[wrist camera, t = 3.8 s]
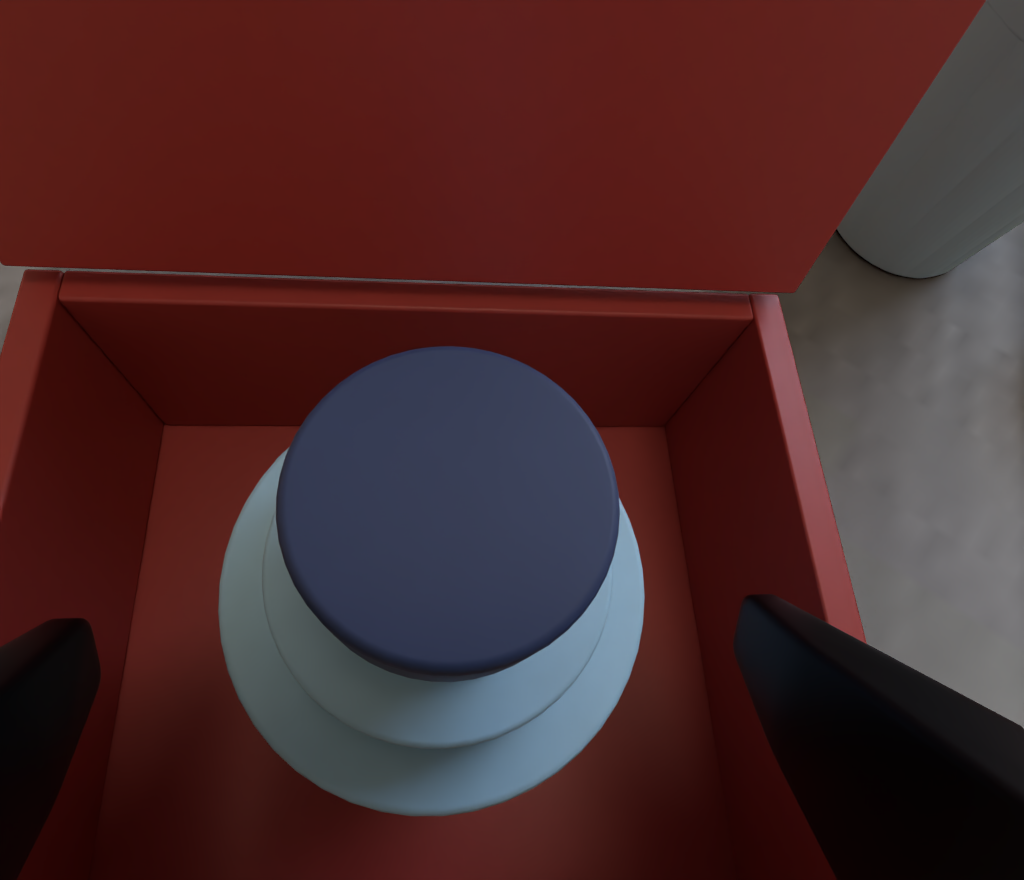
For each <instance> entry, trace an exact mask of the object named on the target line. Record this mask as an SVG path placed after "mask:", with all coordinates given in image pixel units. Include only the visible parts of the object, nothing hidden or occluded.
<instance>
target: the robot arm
mask: <svg viewBox="0 0 1024 880" xmlns="http://www.w3.org/2000/svg"><path fill="white" fill-rule="evenodd" d="M733 651H734V655H735V658H736V661H737V663H738V666H739V669H740V671H741V674H742V676H743V679H744V682H745V684H746V687H747V689H748V692H749V695H750V697H751V700H752V702H753V705H754V707H755V710H756V713H757V715H758V718H759V720H760V723H761V726H762V728H763V731H764V733H765V736H766V738H767V741H768V743H769V745H770V748H771V750H772V752H773V754H774V756H775V758H776V761H777V763H778V765H779V767H780V769H781V771H782V773H783V775H784V777H785V779H786V781H787V783H788V785H789V787H790V788H791V790H792V792H793V794H794V796H795V798H796V800H797V802H798V804H799V806H800V808H801V810H802V812H803V814H804V816H805V818H806V820H807V822H808V824H809V826H810V828H811V830H812V832H813V834H814V836H815V838H816V840H817V842H818V844H819V846H820V848H821V849H822V851H823V853H824V855H825V857H826V859H827V861H828V863H829V865H830V867H831V869H832V871H833V873H834V875H835V877H836V879H837V880H1024V729H1023V727H1022V726H1020V725H1018V724H1016V723H1014V722H1012V721H1011V720H1009V719H1007V718H1005V717H1003V716H1001V715H999V714H997V713H995V712H994V711H992V710H990V709H988V708H986V707H984V706H982V705H980V704H979V703H977V702H975V701H973V700H971V699H969V698H967V697H965V696H964V695H962V694H960V693H958V692H956V691H954V690H952V689H950V688H948V687H947V686H945V685H943V684H941V683H939V682H937V681H935V680H933V679H932V678H930V677H928V676H926V675H924V674H922V673H920V672H918V671H917V670H915V669H913V668H911V667H909V666H907V665H905V664H903V663H901V662H900V661H898V660H896V659H894V658H892V657H890V656H888V655H886V654H885V653H883V652H881V651H879V650H877V649H875V648H873V647H871V646H870V645H868V644H866V643H864V642H862V641H860V640H858V639H856V638H855V637H853V636H851V635H849V634H847V633H845V632H843V631H841V630H840V629H838V628H836V627H834V626H832V625H830V624H828V623H826V622H824V621H823V620H821V619H819V618H817V617H815V616H813V615H811V614H809V613H808V612H806V611H804V610H802V609H800V608H798V607H796V606H794V605H793V604H791V603H789V602H787V601H785V600H783V599H781V598H779V597H778V596H776V595H773V594H753V595H747V596H746V597H744V599H743V600H742V603H741V606H740V611H739V615H738V620H737V624H736V628H735V633H734V637H733ZM100 681H101V665H100V661H99V656H98V652H97V648H96V643H95V639H94V634H93V630H92V627H91V624H90V623H89V621H88V620H86V619H84V618H58V619H51V620H48V621H46V622H44V623H42V624H41V625H39V626H37V627H35V628H34V629H32V630H30V631H28V632H26V633H25V634H23V635H21V636H19V637H17V638H16V639H14V640H12V641H10V642H8V643H7V644H5V645H3V646H1V647H0V880H17V878H18V876H19V874H20V872H21V870H22V868H23V866H24V864H25V862H26V860H27V858H28V856H29V854H30V852H31V850H32V848H33V846H34V844H35V842H36V840H37V838H38V836H39V834H40V832H41V830H42V828H43V826H44V824H45V822H46V820H47V818H48V816H49V814H50V812H51V810H52V808H53V806H54V803H55V801H56V799H57V796H58V794H59V792H60V789H61V787H62V784H63V782H64V779H65V776H66V774H67V771H68V768H69V766H70V763H71V761H72V758H73V755H74V753H75V750H76V747H77V745H78V742H79V739H80V737H81V734H82V731H83V729H84V726H85V723H86V721H87V718H88V715H89V713H90V710H91V707H92V705H93V702H94V699H95V697H96V694H97V691H98V689H99V686H100Z"/></svg>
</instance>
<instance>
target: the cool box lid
mask: <svg viewBox="0 0 1024 880" xmlns="http://www.w3.org/2000/svg"><path fill="white" fill-rule="evenodd" d="M985 1H986V0H0V262H1V263H2V264H3V265H5V266H30V267H59V268H88V269H117V270H145V271H174V272H203V273H232V274H261V275H289V276H318V277H347V278H376V279H405V280H433V281H462V282H491V283H520V284H549V285H577V286H606V287H635V288H664V289H693V290H721V291H750V292H779V293H794V292H795V291H796V290H797V288H798V287H799V285H800V284H801V282H802V281H803V279H804V278H805V276H806V275H807V273H808V272H809V270H810V268H811V267H812V265H813V264H814V262H815V261H816V259H817V258H818V256H819V255H820V253H821V252H822V250H823V249H824V247H825V246H826V244H827V243H828V241H829V239H830V238H831V236H832V235H833V233H834V232H835V230H836V229H837V227H838V226H839V224H840V223H841V221H842V220H843V218H844V217H845V215H846V214H847V212H848V210H849V209H850V207H851V206H852V204H853V203H854V201H855V200H856V198H857V197H858V195H859V194H860V192H861V191H862V189H863V188H864V186H865V185H866V183H867V181H868V180H869V178H870V177H871V175H872V174H873V172H874V171H875V169H876V168H877V166H878V165H879V163H880V162H881V160H882V159H883V157H884V156H885V154H886V152H887V151H888V149H889V148H890V146H891V145H892V143H893V142H894V140H895V139H896V137H897V136H898V134H899V133H900V131H901V130H902V128H903V127H904V125H905V123H906V122H907V120H908V119H909V117H910V116H911V114H912V113H913V111H914V110H915V108H916V107H917V105H918V104H919V102H920V101H921V99H922V98H923V96H924V94H925V93H926V91H927V90H928V88H929V87H930V85H931V84H932V82H933V81H934V79H935V78H936V76H937V75H938V73H939V72H940V70H941V68H942V67H943V65H944V64H945V62H946V61H947V59H948V58H949V56H950V55H951V53H952V52H953V50H954V49H955V47H956V46H957V44H958V43H959V41H960V39H961V38H962V36H963V35H964V33H965V32H966V30H967V29H968V27H969V26H970V24H971V23H972V21H973V20H974V18H975V17H976V15H977V14H978V12H979V10H980V9H981V7H982V6H983V4H984V3H985Z"/></svg>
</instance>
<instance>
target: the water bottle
mask: <svg viewBox="0 0 1024 880" xmlns="http://www.w3.org/2000/svg"><path fill="white" fill-rule="evenodd" d="M644 598H645V596H644V581H643V569H642V564H641V559H640V554H639V549H638V544H637V541H636V538H635V535H634V532H633V529H632V526H631V523H630V520H629V518H628V515H627V513H626V511H625V509H624V507H623V505H622V503H621V500H620V498H619V492H618V487H617V481H616V476H615V472H614V469H613V466H612V463H611V460H610V457H609V454H608V451H607V449H606V447H605V445H604V443H603V441H602V439H601V436H600V434H599V433H598V431H597V429H596V428H595V426H594V425H593V423H592V422H591V420H590V418H589V417H588V416H587V414H586V413H585V412H584V411H583V410H582V408H581V407H580V406H579V405H578V403H577V402H576V401H575V400H574V399H573V398H572V397H571V396H570V395H569V394H568V393H567V392H566V391H564V390H563V389H562V388H561V387H560V386H559V385H557V384H556V383H555V382H553V381H552V380H551V379H549V378H548V377H547V376H545V375H544V374H542V373H540V372H539V371H537V370H535V369H533V368H532V367H530V366H528V365H526V364H524V363H522V362H519V361H517V360H515V359H512V358H510V357H507V356H504V355H501V354H497V353H494V352H491V351H486V350H481V349H476V348H469V347H456V346H439V347H426V348H420V349H413V350H408V351H405V352H401V353H397V354H394V355H390V356H388V357H385V358H383V359H380V360H378V361H375V362H373V363H371V364H369V365H367V366H365V367H363V368H362V369H360V370H358V371H356V372H354V373H353V374H351V375H350V376H349V377H347V378H346V379H344V380H343V381H342V382H340V383H339V384H337V385H336V386H335V387H334V388H333V389H332V390H331V391H330V392H329V393H328V394H327V395H325V396H324V397H323V398H322V399H321V400H320V402H319V403H318V404H317V405H316V406H315V408H314V409H313V410H312V411H311V412H310V413H309V415H308V416H307V417H306V419H305V420H304V422H303V423H302V425H301V427H300V428H299V430H298V431H297V433H296V434H295V436H294V438H293V441H292V443H291V445H290V447H289V448H288V449H287V450H285V451H284V452H283V453H282V454H281V455H280V456H279V457H278V458H277V459H276V461H275V462H274V463H273V464H272V465H271V467H270V468H269V469H268V470H267V471H266V473H265V474H264V475H263V476H262V477H261V479H260V480H259V482H258V483H257V485H256V486H255V488H254V490H253V491H252V493H251V494H250V496H249V497H248V499H247V500H246V502H245V504H244V506H243V508H242V510H241V513H240V515H239V517H238V519H237V521H236V523H235V525H234V527H233V531H232V534H231V537H230V540H229V543H228V546H227V549H226V552H225V556H224V561H223V567H222V572H221V577H220V583H219V604H218V616H219V627H220V638H221V644H222V649H223V653H224V657H225V661H226V666H227V670H228V673H229V675H230V678H231V680H232V683H233V686H234V688H235V691H236V693H237V696H238V698H239V700H240V702H241V704H242V705H243V707H244V709H245V711H246V712H247V714H248V716H249V718H250V719H251V721H252V723H253V725H254V726H255V727H256V729H257V730H258V731H259V732H260V734H261V735H262V736H263V738H264V739H265V740H266V741H267V743H268V744H269V745H270V746H271V748H272V749H273V750H274V751H275V752H276V753H277V754H278V755H279V756H280V757H281V758H282V759H284V760H285V761H286V762H287V763H288V764H289V765H290V766H291V767H292V768H293V769H294V770H295V771H297V772H298V773H299V774H301V775H302V776H304V777H305V778H307V779H308V780H310V781H311V782H313V783H314V784H316V785H317V786H319V787H320V788H321V789H323V790H325V791H327V792H329V793H332V794H334V795H336V796H338V797H340V798H342V799H344V800H346V801H348V802H350V803H353V804H357V805H360V806H363V807H367V808H370V809H373V810H377V811H380V812H386V813H393V814H399V815H406V816H448V815H455V814H461V813H467V812H474V811H478V810H481V809H484V808H487V807H491V806H494V805H497V804H500V803H503V802H506V801H508V800H510V799H512V798H515V797H517V796H519V795H521V794H523V793H525V792H527V791H529V790H531V789H533V788H535V787H536V786H538V785H539V784H541V783H542V782H544V781H545V780H547V779H548V778H550V777H551V776H553V775H554V774H556V773H557V772H559V771H560V770H561V769H562V768H563V767H565V766H566V765H567V764H568V763H569V762H570V761H571V760H572V759H574V758H575V757H576V756H577V755H578V754H579V753H580V752H582V750H583V749H584V748H585V747H586V746H587V745H588V743H589V742H590V741H591V740H592V739H593V738H594V736H595V735H596V734H597V733H598V732H599V731H600V729H601V728H602V727H603V725H604V723H605V722H606V720H607V719H608V717H609V716H610V714H611V713H612V711H613V710H614V708H615V706H616V705H617V703H618V701H619V699H620V697H621V695H622V693H623V690H624V688H625V686H626V684H627V682H628V680H629V678H630V674H631V671H632V668H633V665H634V662H635V659H636V656H637V653H638V649H639V643H640V638H641V632H642V627H643V616H644Z"/></svg>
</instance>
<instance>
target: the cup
mask: <svg viewBox="0 0 1024 880" xmlns="http://www.w3.org/2000/svg"><path fill="white" fill-rule="evenodd" d="M1022 222H1024V0H986V1H985V3H984V4H983V6H982V7H981V9H980V10H979V12H978V14H977V15H976V17H975V18H974V20H973V21H972V23H971V24H970V26H969V27H968V29H967V30H966V32H965V33H964V35H963V36H962V38H961V39H960V41H959V43H958V44H957V46H956V47H955V49H954V50H953V52H952V53H951V55H950V56H949V58H948V59H947V61H946V62H945V64H944V65H943V67H942V68H941V70H940V72H939V73H938V75H937V76H936V78H935V79H934V81H933V82H932V84H931V85H930V87H929V88H928V90H927V91H926V93H925V94H924V96H923V98H922V99H921V101H920V102H919V104H918V105H917V107H916V108H915V110H914V111H913V113H912V114H911V116H910V117H909V119H908V120H907V122H906V123H905V125H904V127H903V128H902V130H901V131H900V133H899V134H898V136H897V137H896V139H895V140H894V142H893V143H892V145H891V146H890V148H889V149H888V151H887V152H886V154H885V156H884V157H883V159H882V160H881V162H880V163H879V165H878V166H877V168H876V169H875V171H874V172H873V174H872V175H871V177H870V178H869V180H868V181H867V183H866V185H865V186H864V188H863V189H862V191H861V192H860V194H859V195H858V197H857V198H856V200H855V201H854V203H853V204H852V206H851V207H850V209H849V210H848V212H847V214H846V215H845V217H844V218H843V220H842V221H841V223H840V224H839V226H838V227H837V230H838V232H839V233H840V235H841V236H842V238H843V239H844V240H845V241H846V242H847V244H848V245H849V246H850V247H851V248H852V249H853V250H854V251H855V252H856V253H857V254H859V255H860V256H861V257H863V258H864V259H865V260H867V261H868V262H870V263H871V264H873V265H875V266H877V267H879V268H881V269H883V270H885V271H888V272H890V273H893V274H897V275H901V276H906V277H911V278H927V277H933V276H937V275H941V274H944V273H946V272H948V271H950V270H951V269H953V268H955V267H956V266H958V265H959V264H961V263H962V262H964V261H965V260H967V259H968V258H970V257H971V256H973V255H974V254H976V253H977V252H979V251H980V250H982V249H983V248H985V247H986V246H988V245H989V244H991V243H992V242H994V241H995V240H997V239H998V238H1000V237H1001V236H1003V235H1004V234H1006V233H1007V232H1009V231H1010V230H1012V229H1013V228H1015V227H1016V226H1018V225H1019V224H1021V223H1022Z"/></svg>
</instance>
